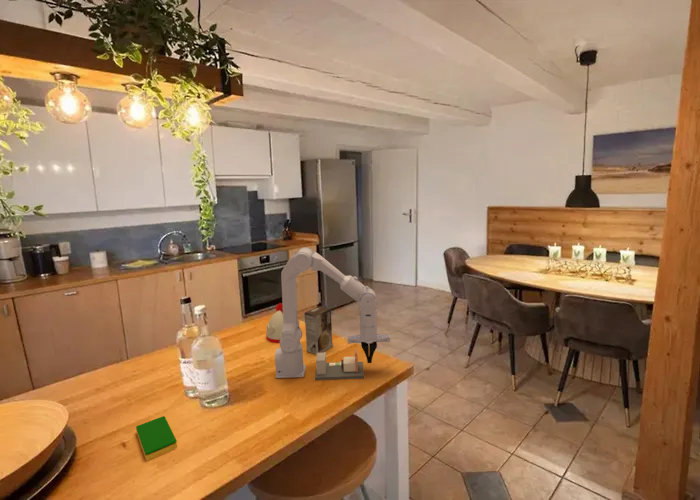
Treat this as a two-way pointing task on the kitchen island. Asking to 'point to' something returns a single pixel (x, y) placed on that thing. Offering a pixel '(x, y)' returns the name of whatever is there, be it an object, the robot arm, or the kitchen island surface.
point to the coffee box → (318, 329)
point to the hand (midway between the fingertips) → (369, 361)
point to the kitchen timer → (275, 325)
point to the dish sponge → (156, 438)
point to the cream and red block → (350, 363)
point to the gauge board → (335, 370)
